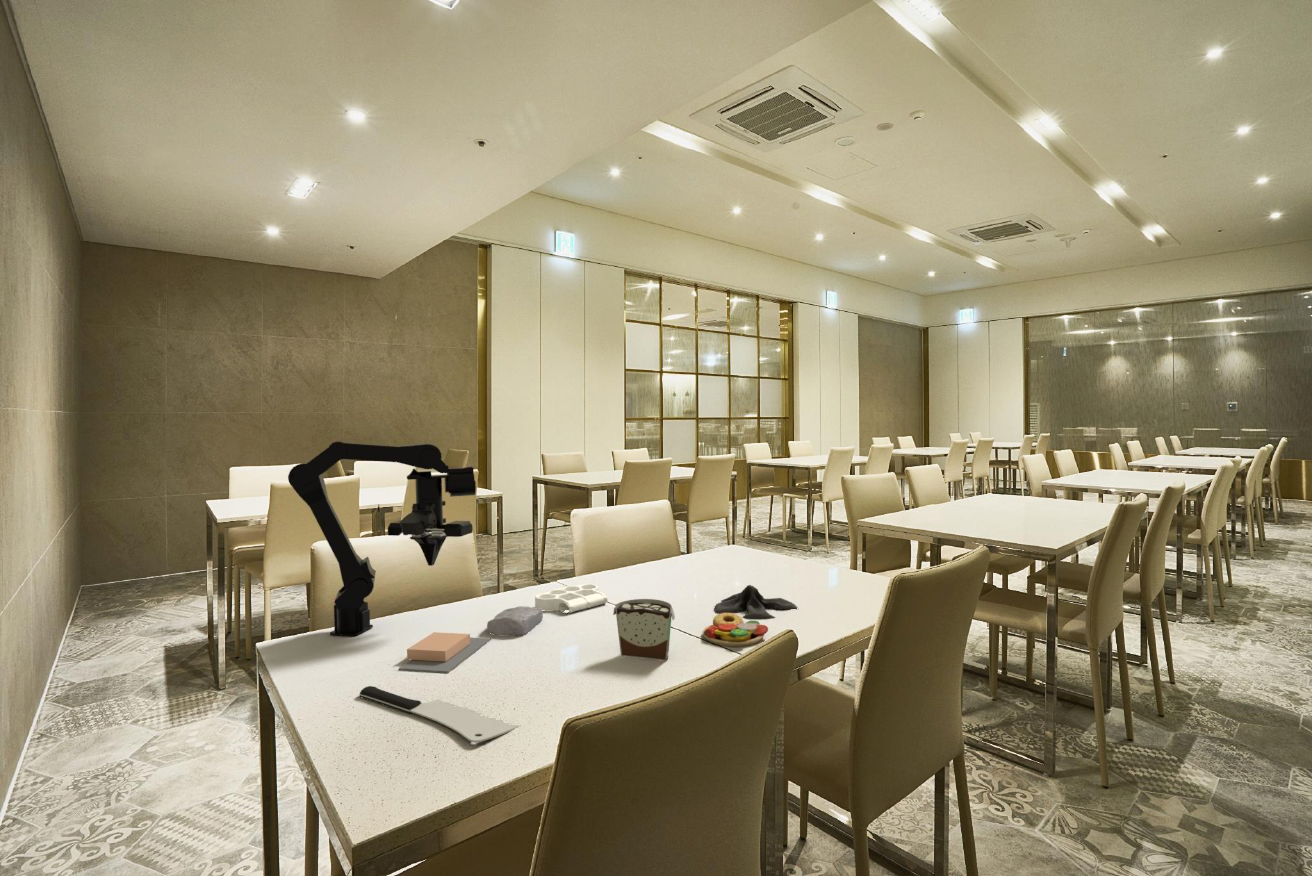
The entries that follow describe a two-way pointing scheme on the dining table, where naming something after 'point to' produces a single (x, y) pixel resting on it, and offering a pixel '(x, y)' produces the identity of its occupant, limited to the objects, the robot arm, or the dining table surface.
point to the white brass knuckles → (571, 598)
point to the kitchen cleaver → (443, 714)
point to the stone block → (515, 621)
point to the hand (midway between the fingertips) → (431, 565)
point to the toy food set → (734, 631)
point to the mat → (449, 664)
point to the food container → (644, 628)
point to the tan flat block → (438, 647)
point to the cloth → (752, 604)
